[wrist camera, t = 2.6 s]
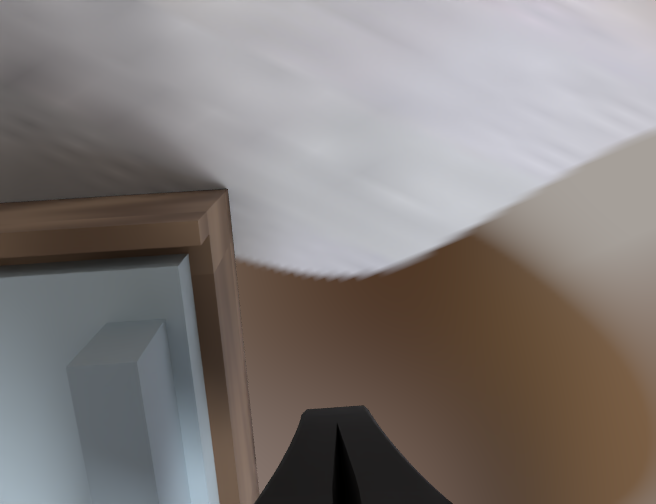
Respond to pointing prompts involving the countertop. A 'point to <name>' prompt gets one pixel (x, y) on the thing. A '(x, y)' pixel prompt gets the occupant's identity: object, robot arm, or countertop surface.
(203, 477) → the cover plate
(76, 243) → the walnut box
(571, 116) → the countertop surface
